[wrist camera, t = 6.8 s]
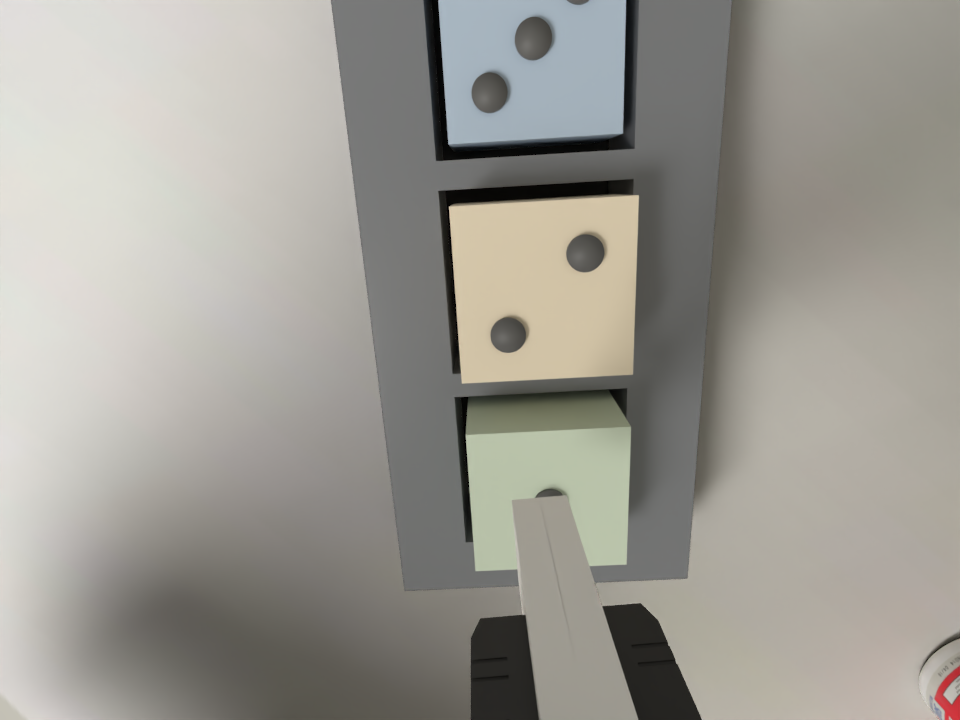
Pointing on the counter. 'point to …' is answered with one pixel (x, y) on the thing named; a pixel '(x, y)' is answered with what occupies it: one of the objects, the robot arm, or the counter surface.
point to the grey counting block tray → (429, 289)
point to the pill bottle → (942, 682)
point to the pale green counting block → (548, 469)
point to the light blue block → (532, 72)
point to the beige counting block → (545, 287)
